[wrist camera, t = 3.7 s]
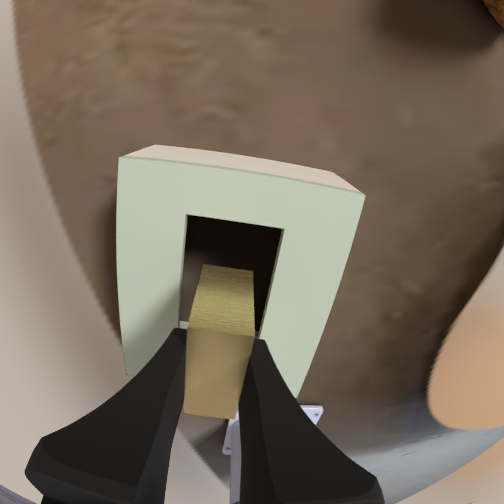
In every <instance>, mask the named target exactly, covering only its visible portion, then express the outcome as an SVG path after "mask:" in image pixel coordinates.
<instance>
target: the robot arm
mask: <svg viewBox="0 0 504 504" xmlns="http://www.w3.org/2000/svg"><path fill="white" fill-rule="evenodd" d="M186 341H187V329H182V328H174V329H172V331H171V333H170V334H169V336H168V337H167V339H166V340H165V342H164V343H163V344H162V346H161V347H160V348H159V350H158V351H157V352H156V353H155V355H154V356H153V357H152V358H151V359H150V360H149V362H148V363H147V364H146V365H145V366H144V367H143V368H142V369H141V370H140V371H139V372H138V374H137V375H136V376H135V377H134V378H133V379H132V380H131V381H130V382H129V383H127V384H126V385H125V386H124V387H123V388H122V389H121V390H120V391H119V392H117V393H116V394H115V395H114V396H112V397H111V398H110V399H109V400H107V401H106V402H105V403H103V404H102V405H101V406H99V407H98V408H96V409H95V410H93V411H92V412H90V413H89V414H87V415H86V416H84V417H82V418H80V419H79V420H77V421H75V422H74V423H72V424H70V425H68V426H66V427H64V428H62V429H60V430H58V431H55V432H53V433H51V434H49V435H47V436H44V437H42V438H41V439H40V441H39V443H38V444H37V446H36V447H35V449H34V451H33V452H32V455H31V457H30V459H29V462H28V464H27V467H26V469H25V475H26V477H27V478H28V480H29V481H30V482H31V483H32V484H33V485H34V486H35V487H36V488H37V489H38V490H39V491H40V492H41V493H42V494H43V495H44V496H43V499H42V502H41V504H164V499H165V490H166V482H167V474H168V467H169V460H170V452H171V447H172V443H173V438H174V435H175V431H176V427H177V424H178V420H179V416H180V413H181V409H182V405H183V402H184V397H185V368H186ZM322 412H323V408H322V406H314V405H299V403H298V402H297V400H296V399H295V397H294V396H293V394H292V393H291V391H290V389H289V388H288V386H287V384H286V383H285V381H284V379H283V377H282V375H281V374H280V372H279V370H278V368H277V366H276V364H275V362H274V360H273V357H272V355H271V353H270V351H269V348H268V346H267V343H266V341H265V340H264V339H255V338H254V343H253V347H252V351H251V355H250V358H249V362H248V366H247V370H246V374H245V379H244V383H243V387H242V391H241V395H240V399H239V403H238V409H237V413H236V417H235V419H229V422H228V426H227V431H226V435H225V440H224V445H223V449H222V453H223V454H226V455H231V470H230V504H384V503H385V501H384V497H383V494H382V490H381V487H380V485H379V483H378V481H377V478H376V477H375V476H374V475H372V474H371V473H370V472H368V471H367V470H365V469H364V468H362V467H361V466H359V465H358V464H356V463H355V462H354V461H352V460H351V459H350V458H349V457H347V456H346V455H345V454H344V453H343V452H342V451H340V450H339V449H338V448H337V447H336V446H335V445H334V444H333V443H332V442H331V441H330V440H329V439H328V438H327V437H326V436H325V435H324V434H323V433H322V432H321V431H320V430H319V429H318V427H317V426H316V423H317V421H318V420H319V418H320V416H321V414H322ZM0 504H36V503H34V502H32V501H30V500H28V499H26V498H23V497H22V496H20V495H18V494H16V493H14V492H12V491H10V490H9V489H7V488H5V487H3V486H2V485H0ZM469 504H474V503H469Z"/></svg>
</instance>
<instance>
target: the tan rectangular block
mask: <svg viewBox="0 0 504 504" xmlns="http://www.w3.org/2000/svg"><path fill="white" fill-rule="evenodd" d="M254 338H255V322H254V289H253V271H249V270H242V269H235V268H228V267H221V266H214V265H207V264H203V267H202V271H201V275H200V279H199V283H198V286H197V290H196V294H195V298H194V302H193V306H192V310H191V314H190V318H189V322H188V326H187V341H186V368H185V397H184V413H188V414H194V415H201V416H209V417H217V418H225V419H235V417H236V413H237V409H238V403H239V399H240V395H241V391H242V387H243V383H244V379H245V374H246V370H247V366H248V362H249V358H250V355H251V351H252V347H253V343H254Z"/></svg>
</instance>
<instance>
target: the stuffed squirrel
mask: <svg viewBox="0 0 504 504" xmlns="http://www.w3.org/2000/svg"><path fill="white" fill-rule="evenodd" d="M483 1H484V5H485V6H486V7H487V8H488V11H489V12H490V13H491V14H492V15H493V17H494V18H495V20H496V21H497V22H498V24H499V25H501V26H502V27H503V28H504V0H483Z"/></svg>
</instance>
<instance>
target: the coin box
mask: <svg viewBox="0 0 504 504" xmlns="http://www.w3.org/2000/svg"><path fill="white" fill-rule="evenodd" d="M364 199H365V195H364V194H363V193H361V192H360V191H359V190H357V189H356V188H354V187H353V186H352V185H350V184H349V183H347V182H346V181H345V180H343V179H342V178H340V177H339V176H337V175H336V174H334V173H333V172H329V171H325V170H320V169H315V168H310V167H305V166H300V165H295V164H290V163H284V162H279V161H273V160H267V159H261V158H255V157H249V156H243V155H236V154H229V153H222V152H215V151H207V150H199V149H191V148H182V147H173V146H163V145H153V146H150V147H147V148H144V149H141V150H138V151H136V152H133V153H130V154H127V155H125V156H122V157H119V166H118V184H117V213H116V253H117V282H118V300H119V314H120V326H121V336H122V345H123V354H124V361H125V370H126V374H127V375H130V376H134V377H135V376H136V375H137V374H138V372H139V371H140V370H141V369H142V368H143V367H144V366H145V365H146V364H147V363H148V362H149V360H150V359H151V358H152V357H153V356H154V355H155V353H156V352H157V351H158V350H159V348H160V347H161V346H162V344H163V343H164V342H165V340H166V339H167V337H168V336H169V334H170V333H171V331H172V329H174V328H182V329H187V326H188V322H185V321H180V307H181V291H182V276H183V263H184V250H185V239H186V228H187V218H188V215H195V216H203V217H209V218H216V219H223V220H230V221H237V222H243V223H250V224H257V225H263V226H269V227H276V228H282V232H281V236H280V241H279V246H278V250H277V255H276V259H275V264H274V268H273V273H272V277H271V282H270V286H269V291H268V295H267V300H266V304H265V308H264V313H263V317H262V321H261V326H260V330H259V332H258V331H255V339H264V340H265V341H266V343H267V346H268V348H269V351H270V353H271V355H272V357H273V360H274V362H275V364H276V366H277V368H278V370H279V372H280V374H281V375H282V377H283V379H284V381H285V383H286V384H287V386H288V388H289V389H290V391H291V393H292V394H293V396H294V397H296V398H297V396H298V394H299V391H300V389H301V386H302V384H303V381H304V379H305V377H306V374H307V372H308V369H309V367H310V364H311V362H312V359H313V356H314V354H315V351H316V349H317V346H318V343H319V341H320V338H321V335H322V333H323V330H324V327H325V324H326V322H327V319H328V316H329V313H330V310H331V307H332V304H333V302H334V299H335V296H336V293H337V290H338V287H339V284H340V281H341V278H342V274H343V271H344V268H345V265H346V262H347V258H348V255H349V252H350V249H351V245H352V242H353V238H354V235H355V232H356V228H357V225H358V221H359V217H360V214H361V210H362V206H363V203H364Z"/></svg>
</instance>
